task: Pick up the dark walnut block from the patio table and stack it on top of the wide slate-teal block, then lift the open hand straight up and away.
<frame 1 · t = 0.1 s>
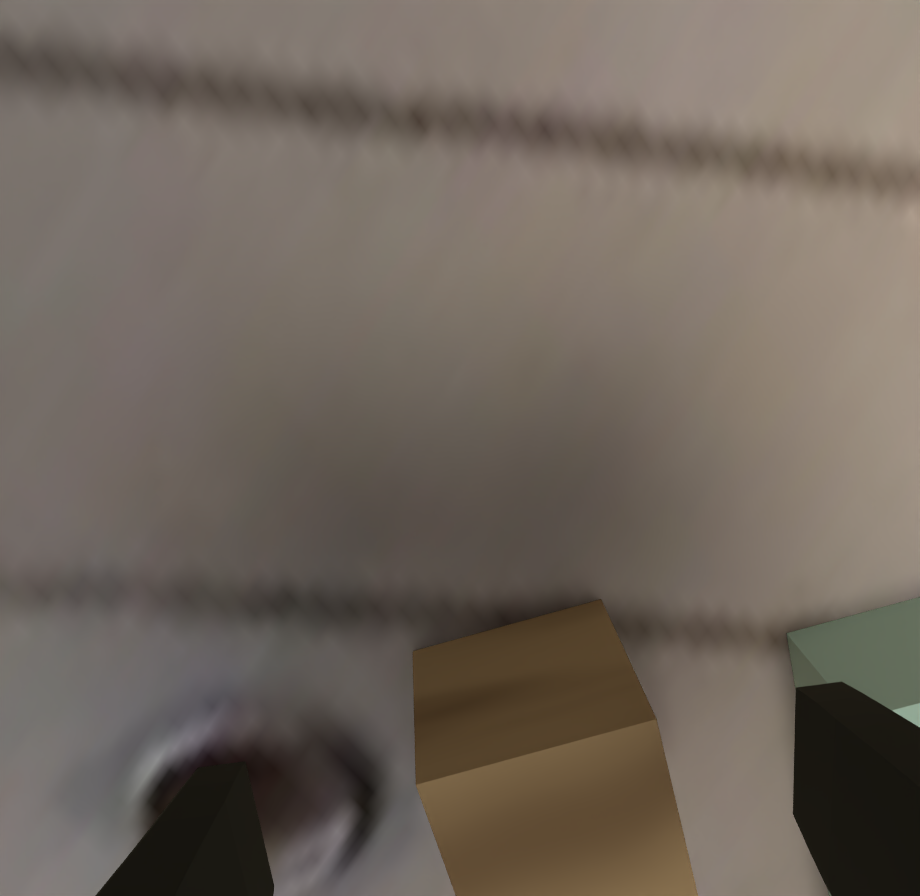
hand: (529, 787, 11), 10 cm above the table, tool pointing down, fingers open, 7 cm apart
walnut block: (529, 702, 22), on the table
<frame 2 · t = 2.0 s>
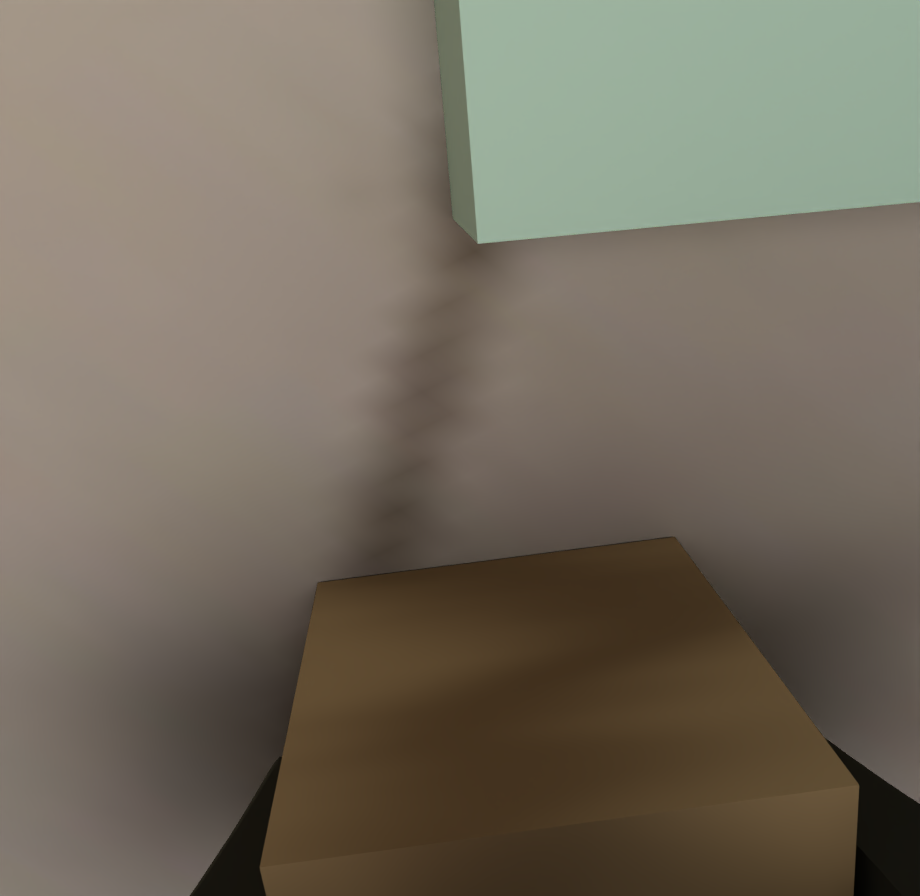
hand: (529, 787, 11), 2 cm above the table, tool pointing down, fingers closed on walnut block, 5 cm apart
walnut block: (513, 711, 12), on the table, touching gripper
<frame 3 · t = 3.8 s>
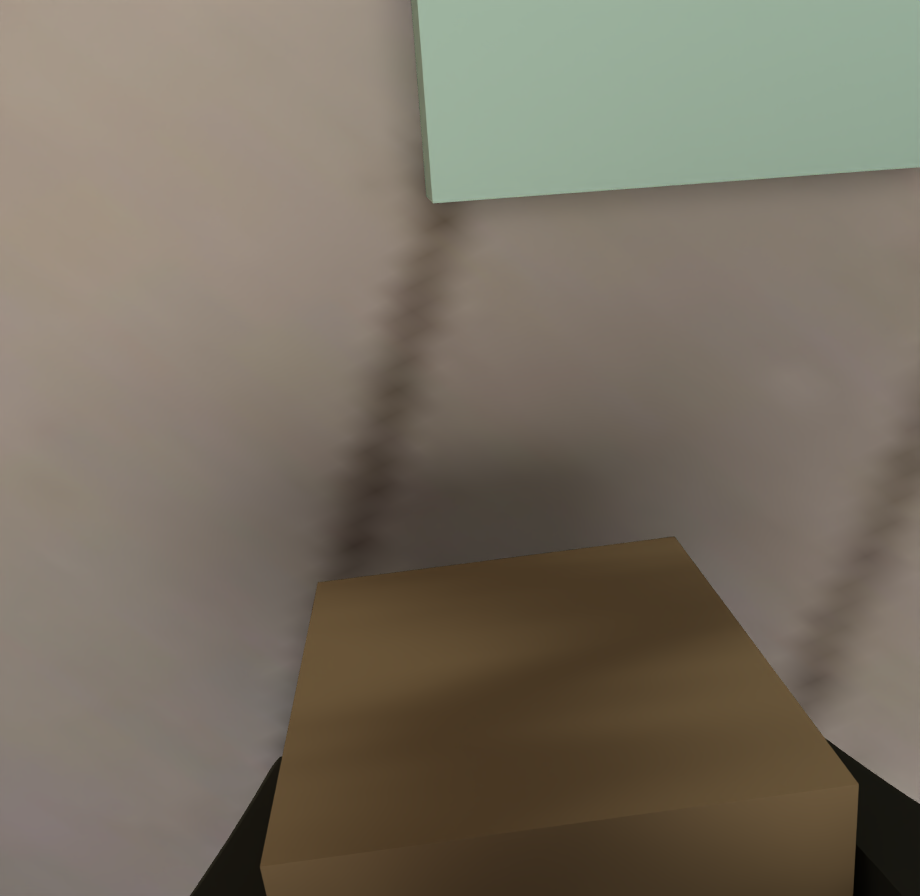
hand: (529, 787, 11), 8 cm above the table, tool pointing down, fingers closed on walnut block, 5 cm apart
walnut block: (513, 710, 12), point 7 cm above the table, touching gripper
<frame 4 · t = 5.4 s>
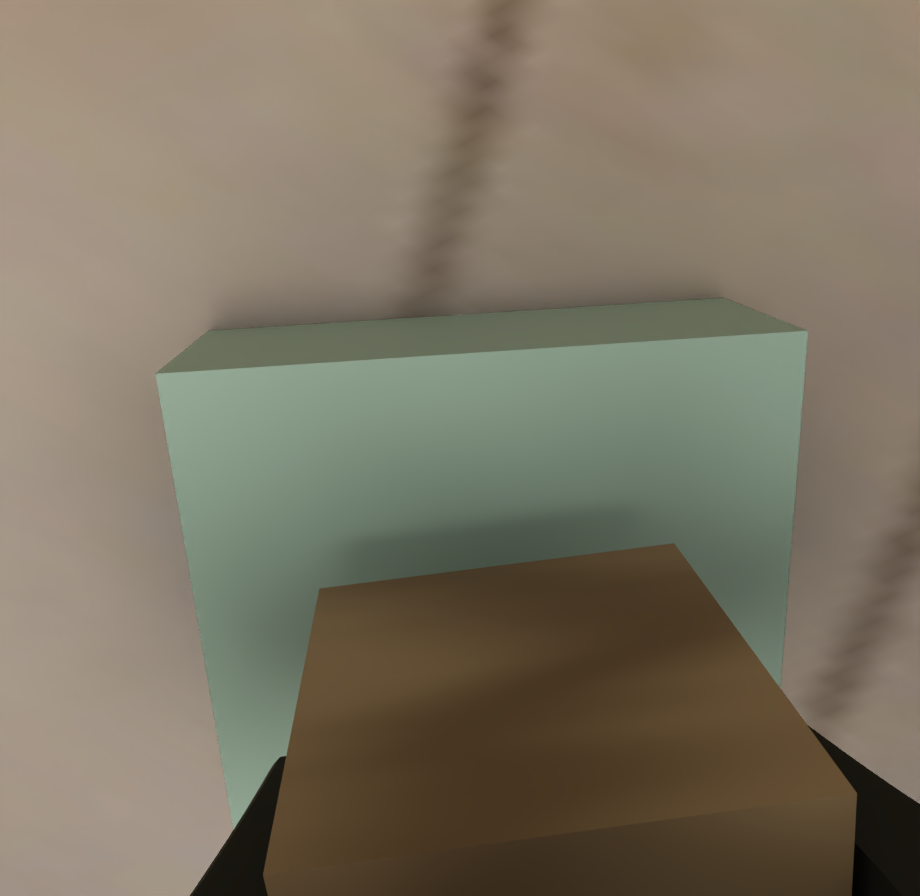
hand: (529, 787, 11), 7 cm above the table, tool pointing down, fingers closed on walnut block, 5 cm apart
walnut block: (513, 716, 13), point 6 cm above the table, touching gripper
riser block: (479, 542, 18), on the table
when the fingers open (7 cm above the table, at t = 6.4 s): walnut block drops 2 cm, resting on riser block.
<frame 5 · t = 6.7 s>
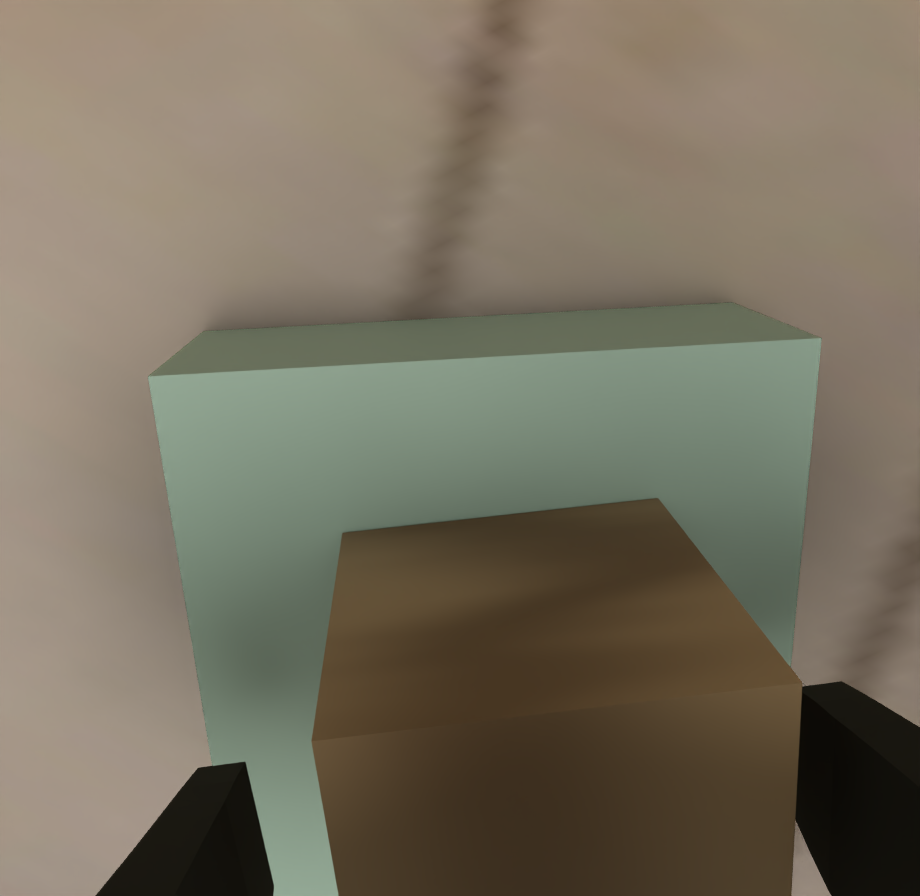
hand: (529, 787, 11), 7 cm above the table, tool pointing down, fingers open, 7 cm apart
walnut block: (512, 652, 14), point 4 cm above the table, touching riser block
riser block: (479, 548, 18), on the table, touching walnut block
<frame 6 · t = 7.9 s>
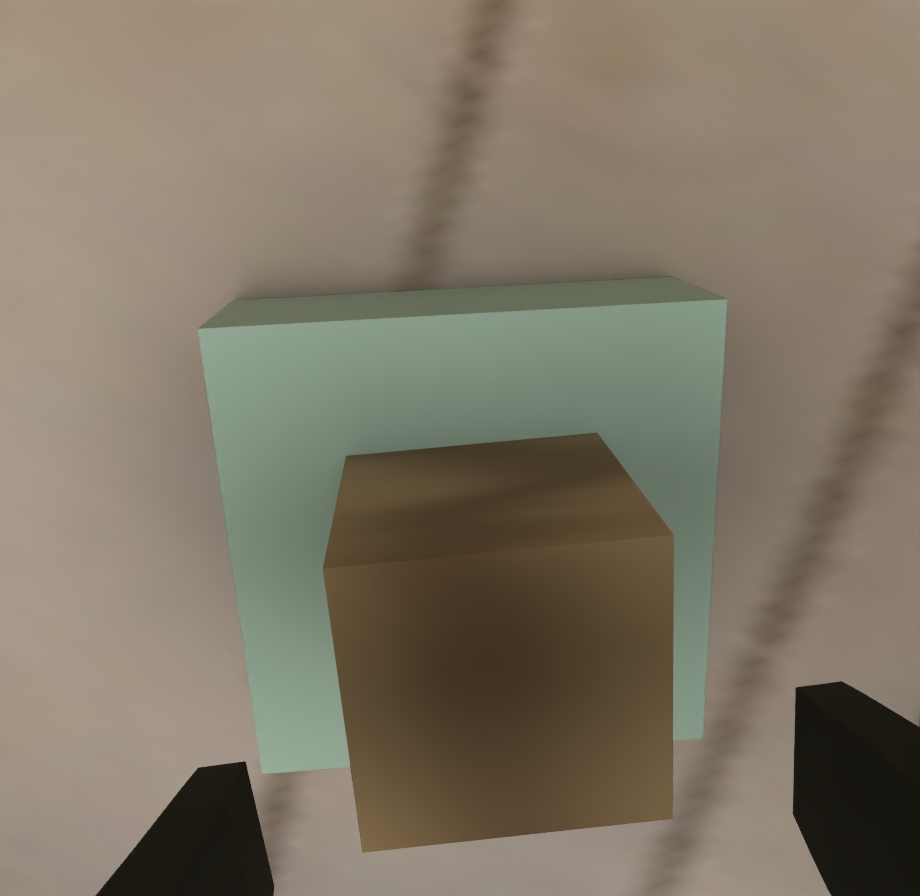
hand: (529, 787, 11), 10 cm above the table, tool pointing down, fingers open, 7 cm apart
walnut block: (480, 558, 17), point 4 cm above the table, touching riser block
riser block: (463, 486, 21), on the table, touching walnut block
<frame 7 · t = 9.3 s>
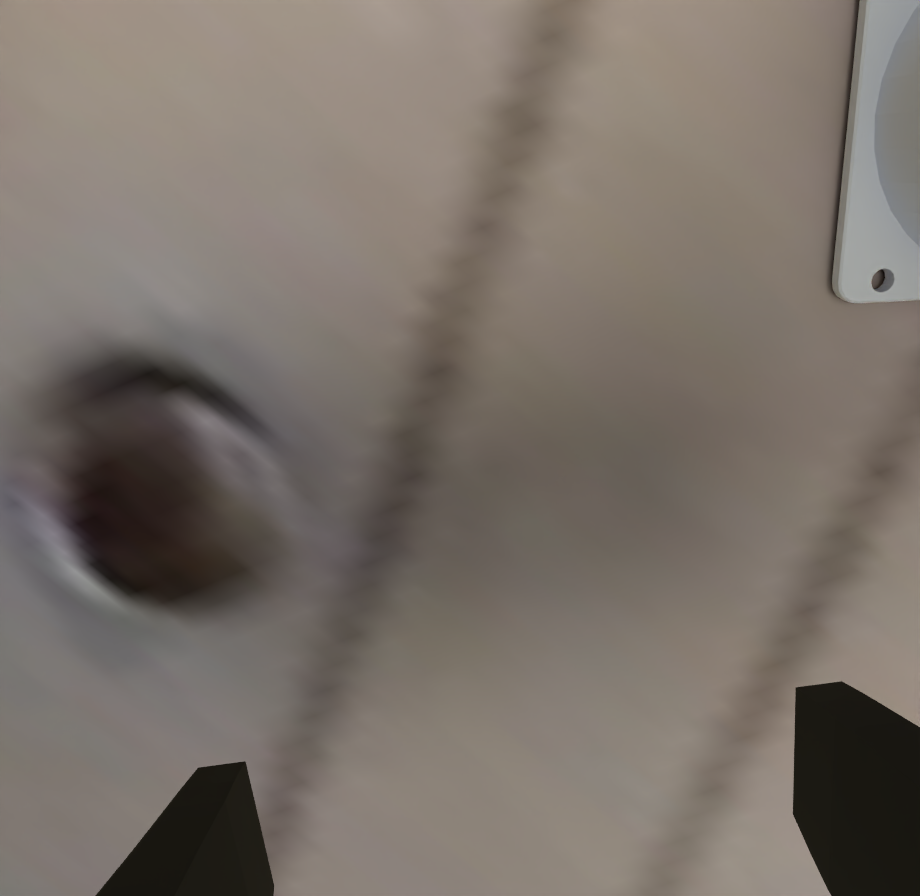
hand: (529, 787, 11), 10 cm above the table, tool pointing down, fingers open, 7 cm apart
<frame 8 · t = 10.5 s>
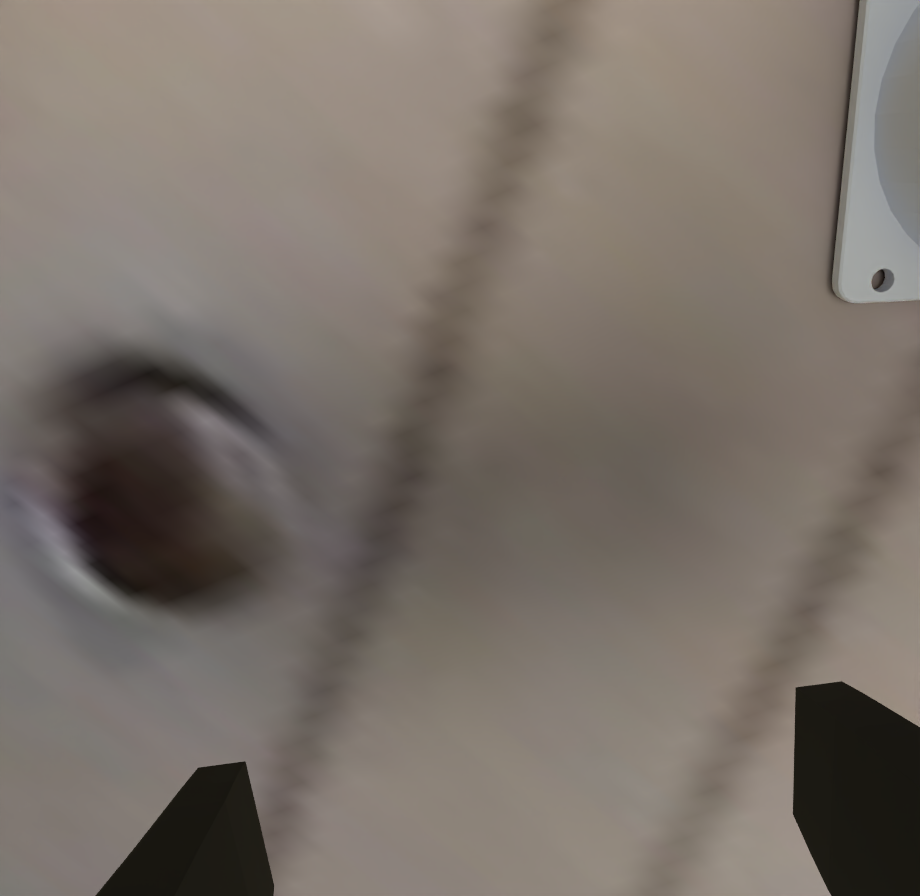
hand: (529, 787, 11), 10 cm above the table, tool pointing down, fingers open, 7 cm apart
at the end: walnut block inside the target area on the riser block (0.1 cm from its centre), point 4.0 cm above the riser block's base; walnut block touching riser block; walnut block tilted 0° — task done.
